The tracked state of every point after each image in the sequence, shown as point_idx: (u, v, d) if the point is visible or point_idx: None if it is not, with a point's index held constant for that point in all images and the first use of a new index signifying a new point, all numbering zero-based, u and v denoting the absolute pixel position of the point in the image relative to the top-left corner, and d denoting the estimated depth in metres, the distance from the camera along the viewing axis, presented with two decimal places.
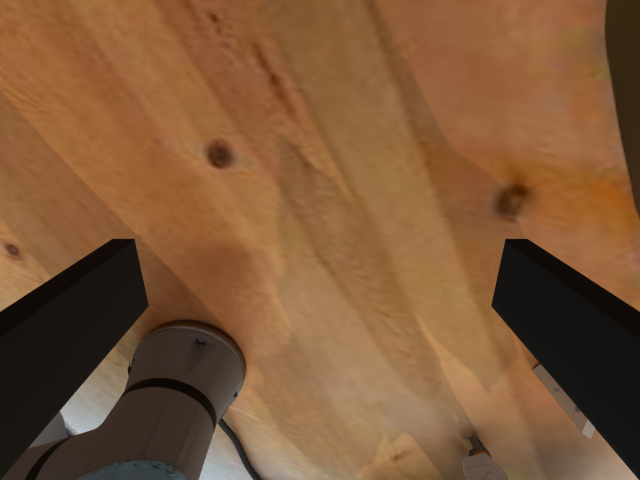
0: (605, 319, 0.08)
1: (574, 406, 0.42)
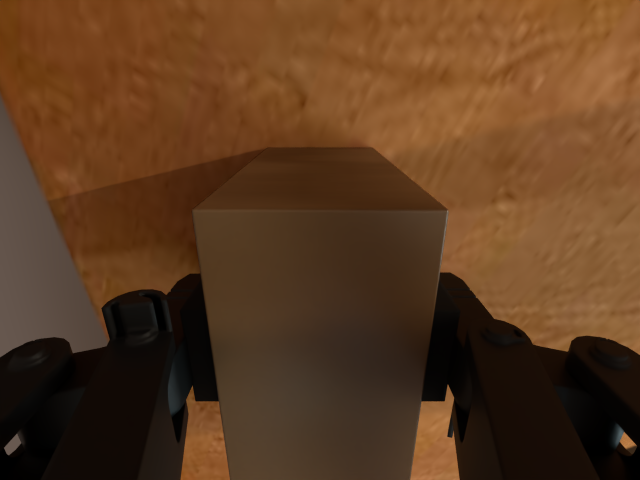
0: None
1: None
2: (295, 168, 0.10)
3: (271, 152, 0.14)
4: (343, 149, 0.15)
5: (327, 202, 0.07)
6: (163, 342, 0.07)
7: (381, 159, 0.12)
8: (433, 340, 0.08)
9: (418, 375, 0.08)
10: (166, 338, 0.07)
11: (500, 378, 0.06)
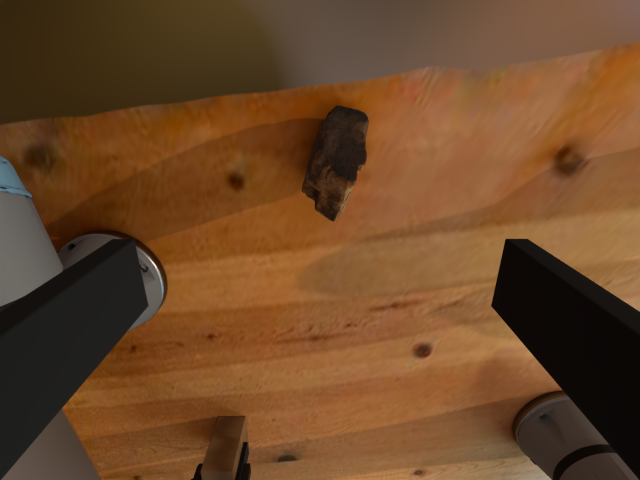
0: (605, 319, 0.08)
1: None
2: (219, 444, 0.56)
3: (218, 424, 0.59)
4: (236, 419, 0.60)
5: (218, 468, 0.52)
6: None
7: (239, 434, 0.58)
8: None
9: None
10: None
11: None
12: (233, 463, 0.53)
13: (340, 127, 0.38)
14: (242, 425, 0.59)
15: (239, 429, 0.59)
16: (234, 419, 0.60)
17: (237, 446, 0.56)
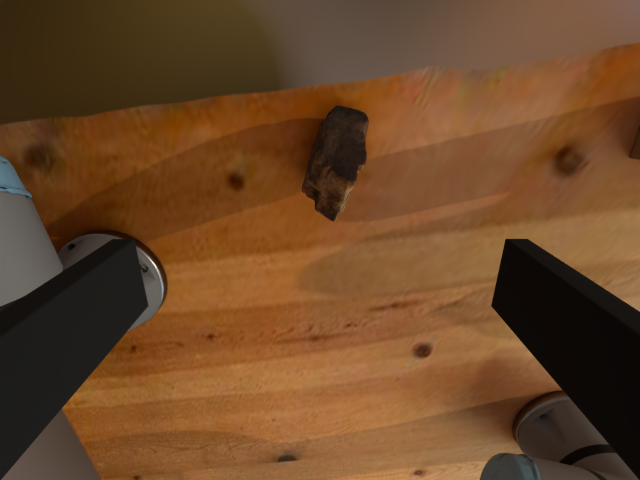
0: (605, 319, 0.08)
1: None
2: None
3: None
4: None
5: None
6: None
7: None
8: None
9: None
10: None
11: None
12: None
13: (340, 127, 0.38)
14: None
15: None
16: None
17: None
